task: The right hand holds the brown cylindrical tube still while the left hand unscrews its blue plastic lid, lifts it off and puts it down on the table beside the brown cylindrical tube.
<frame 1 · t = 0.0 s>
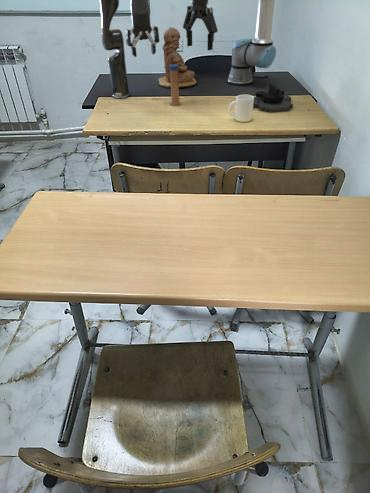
left hand: (144, 55, 157), 29 cm above the table, tool pointing down, fingers open, 8 cm apart
right hand: (199, 47, 171), 28 cm above the table, tool pointing down, fingers open, 13 cm apart
mug: (239, 119, 174), on the table
brown cylindrical tube: (175, 104, 194), on the table
lid: (173, 66, 181), point 19 cm above the table, screwed on, not yet turned
sculpture: (177, 82, 224), on the table
abstract sculpture: (270, 105, 188), on the table
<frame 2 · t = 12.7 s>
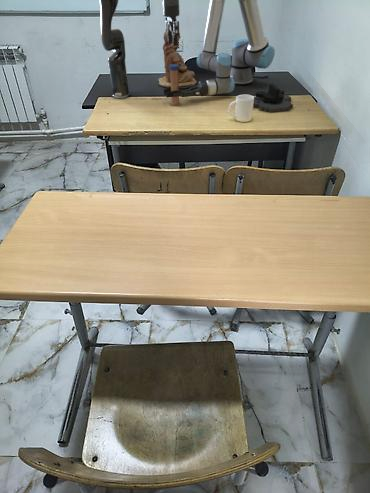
left hand: (172, 44, 175), 29 cm above the table, tool pointing down, fingers open, 7 cm apart
right hand: (165, 93, 188), 6 cm above the table, tool horizontal, fingers closed on brown cylindrical tube, 4 cm apart
brown cylindrical tube: (175, 104, 194), on the table, touching right hand
everything else where it was.
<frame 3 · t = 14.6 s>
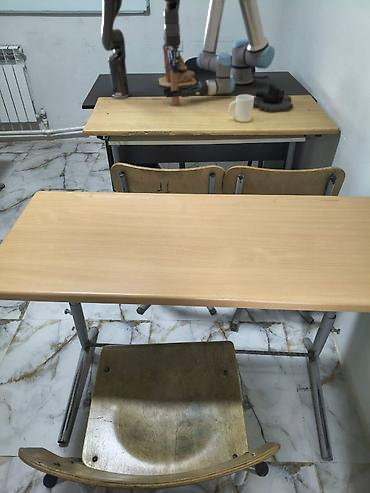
left hand: (174, 71, 183), 16 cm above the table, tool pointing down, fingers closed on lid, 4 cm apart
right hand: (165, 93, 188), 6 cm above the table, tool horizontal, fingers closed on brown cylindrical tube, 4 cm apart
brown cylindrical tube: (175, 104, 194), on the table, touching right hand
lid: (173, 66, 181), point 19 cm above the table, screwed on, not yet turned, touching left hand
everything else where it was.
when the left hand's fingers open (17 cm above the table, at t = 16.1 s): lid stays where it is, point 19 cm above the table.
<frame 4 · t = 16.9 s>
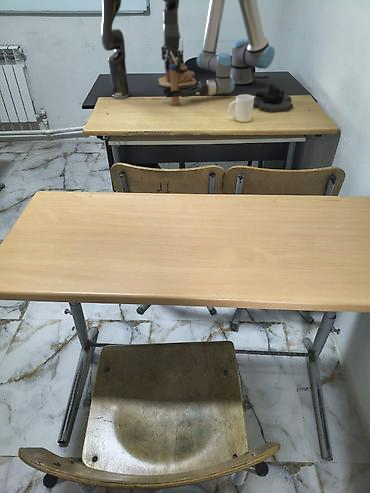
left hand: (172, 71, 182), 17 cm above the table, tool pointing down, fingers open, 7 cm apart
right hand: (165, 93, 188), 6 cm above the table, tool horizontal, fingers closed on brown cylindrical tube, 4 cm apart
brown cylindrical tube: (175, 104, 194), on the table, touching right hand
lid: (173, 65, 181), point 19 cm above the table, turned 78° so far, risen 0.2 cm, still on its thread
everything else where it was.
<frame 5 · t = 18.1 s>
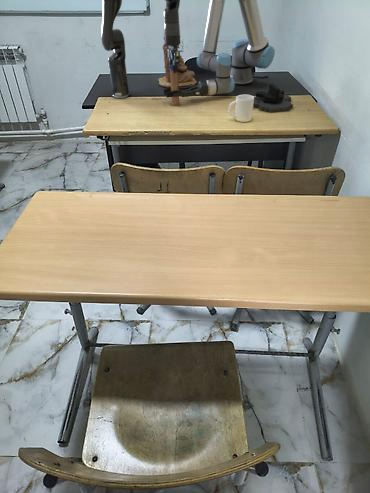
left hand: (174, 71, 183), 17 cm above the table, tool pointing down, fingers closed on lid, 4 cm apart
right hand: (165, 93, 188), 6 cm above the table, tool horizontal, fingers closed on brown cylindrical tube, 4 cm apart
brown cylindrical tube: (175, 104, 194), on the table, touching right hand
lid: (173, 65, 181), point 19 cm above the table, turned 78° so far, risen 0.2 cm, still on its thread, touching left hand
everything else where it was.
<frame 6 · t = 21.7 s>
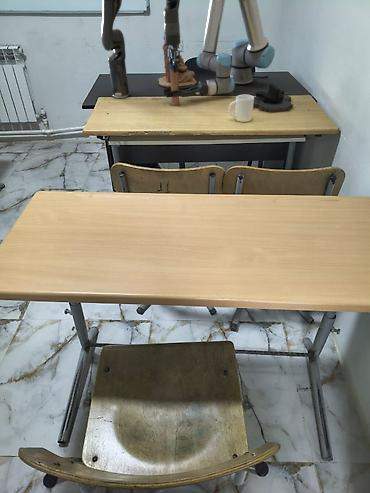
left hand: (174, 70, 183), 17 cm above the table, tool pointing down, fingers closed on lid, 4 cm apart
right hand: (165, 93, 188), 6 cm above the table, tool horizontal, fingers closed on brown cylindrical tube, 4 cm apart
brown cylindrical tube: (175, 104, 194), on the table, touching right hand
lid: (173, 65, 181), point 19 cm above the table, turned 157° so far, risen 0.4 cm, still on its thread, touching left hand
everything else where it was.
when the left hand's fingers open (0 cm above the table, at t = 28.5 s): lid drops 2 cm, point 1 cm above the table.
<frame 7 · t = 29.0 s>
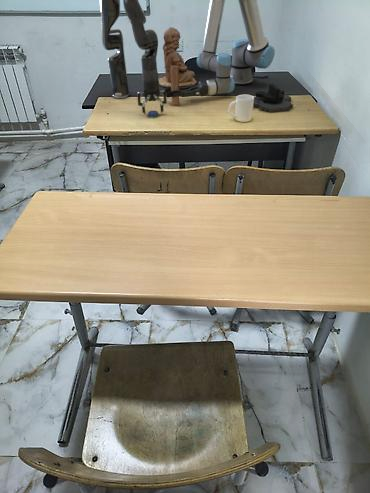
left hand: (153, 112, 181), 1 cm above the table, tool pointing down, fingers open, 8 cm apart
right hand: (165, 93, 188), 6 cm above the table, tool horizontal, fingers closed on brown cylindrical tube, 4 cm apart
brown cylindrical tube: (175, 104, 194), on the table, touching right hand
lid: (153, 112, 180), point 1 cm above the table, off its thread
everything else where it was.
when the right hand's fingers open (6 cm above the table, at t = 29.4 s): brown cylindrical tube stays where it is, on the table.
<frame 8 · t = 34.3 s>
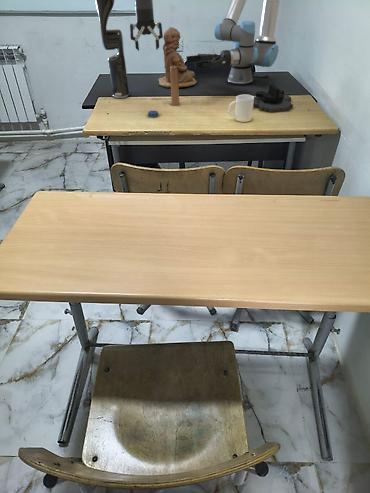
left hand: (147, 49, 162), 30 cm above the table, tool pointing down, fingers open, 8 cm apart
right hand: (190, 62, 183), 20 cm above the table, tool horizontal, fingers open, 13 cm apart
brown cylindrical tube: (175, 104, 194), on the table
everything else where it was.
at the end: lid came off its thread; lid point 1.4 cm above the table; the left hand is holding nothing; the right hand is holding nothing; brown cylindrical tube tilted 0°; brown cylindrical tube moved 0.1 cm from its start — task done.
